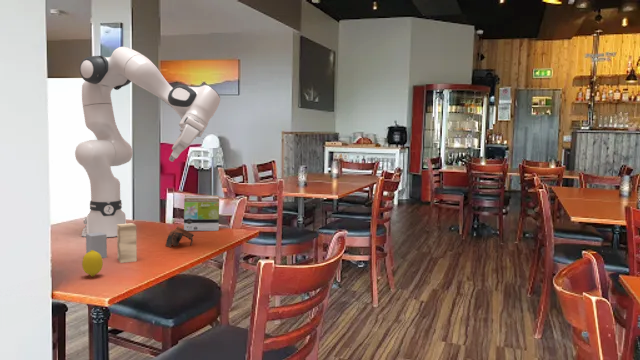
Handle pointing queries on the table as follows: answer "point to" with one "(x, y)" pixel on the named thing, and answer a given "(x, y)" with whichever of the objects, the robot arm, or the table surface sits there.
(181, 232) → the dark brown arched figure
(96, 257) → the lemon
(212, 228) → the tea box
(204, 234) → the table surface
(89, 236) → the grey block
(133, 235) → the birch block
